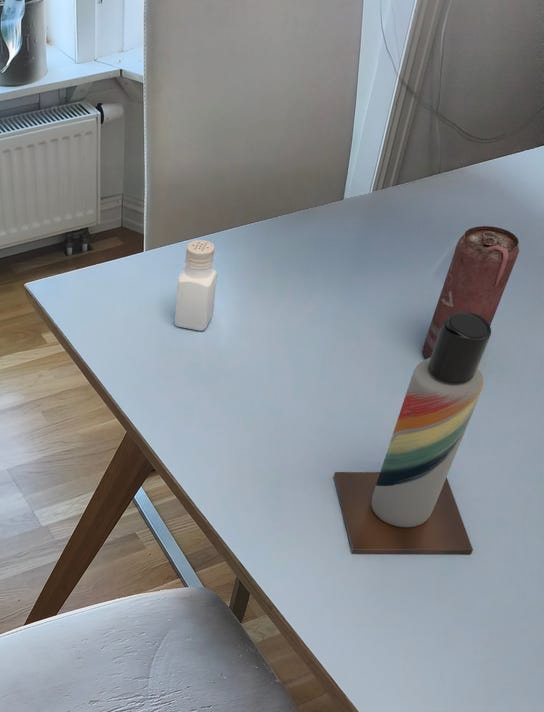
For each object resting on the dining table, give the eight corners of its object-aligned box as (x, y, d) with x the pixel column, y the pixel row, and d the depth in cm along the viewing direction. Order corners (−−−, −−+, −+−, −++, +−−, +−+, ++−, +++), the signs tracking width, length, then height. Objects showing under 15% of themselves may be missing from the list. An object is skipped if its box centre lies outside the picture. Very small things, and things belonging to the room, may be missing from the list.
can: (446, 378, 99) (489, 258, 88) (410, 349, 103) (448, 231, 92) (489, 364, 100) (537, 245, 90) (452, 336, 104) (494, 218, 93)
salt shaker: (172, 327, 107) (178, 251, 100) (182, 310, 109) (188, 235, 102) (204, 333, 106) (212, 257, 99) (213, 316, 108) (222, 240, 101)
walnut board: (443, 476, 89) (445, 471, 88) (471, 554, 82) (473, 550, 82) (333, 476, 89) (334, 471, 89) (351, 554, 82) (353, 549, 82)
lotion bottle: (383, 481, 88) (446, 295, 72) (439, 502, 86) (516, 315, 70) (360, 514, 85) (420, 327, 69) (417, 537, 83) (493, 350, 67)
